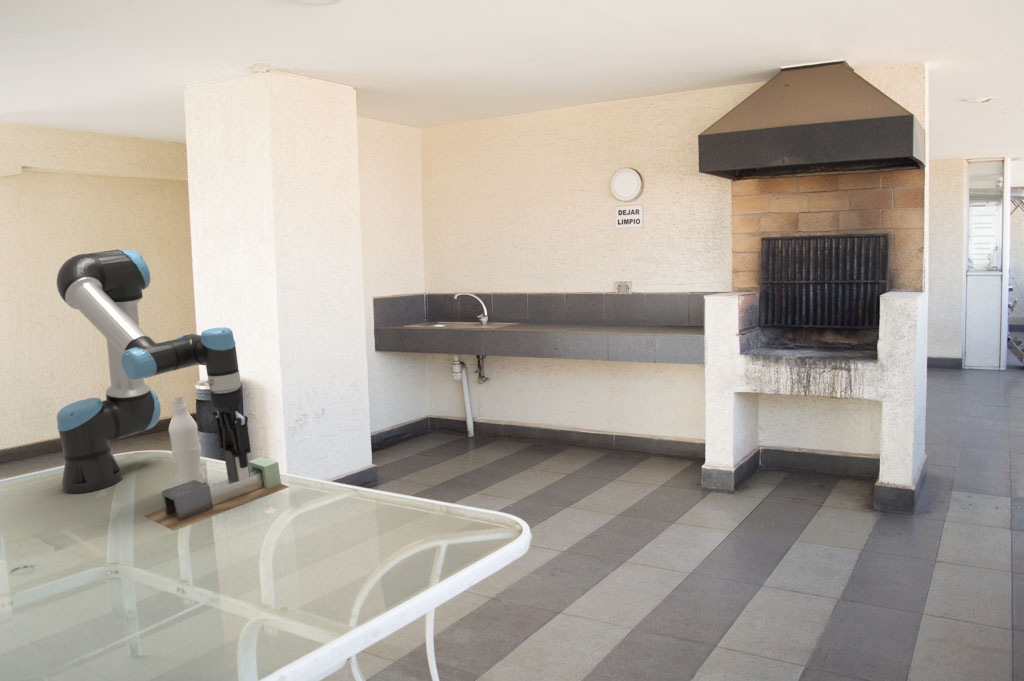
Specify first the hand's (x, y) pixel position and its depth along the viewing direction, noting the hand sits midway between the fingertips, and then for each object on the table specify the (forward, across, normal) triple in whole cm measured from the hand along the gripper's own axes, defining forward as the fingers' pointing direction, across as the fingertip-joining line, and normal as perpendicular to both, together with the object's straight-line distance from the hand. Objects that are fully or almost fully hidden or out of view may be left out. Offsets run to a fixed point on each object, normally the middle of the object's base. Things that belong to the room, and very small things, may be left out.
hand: (239, 477), depth 206 cm
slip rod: (+4, 0, -4) cm, 6 cm away
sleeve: (+5, 0, -14) cm, 15 cm away
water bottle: (+5, -18, -4) cm, 19 cm away
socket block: (+5, 0, +7) cm, 9 cm away
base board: (+5, 0, -6) cm, 8 cm away
